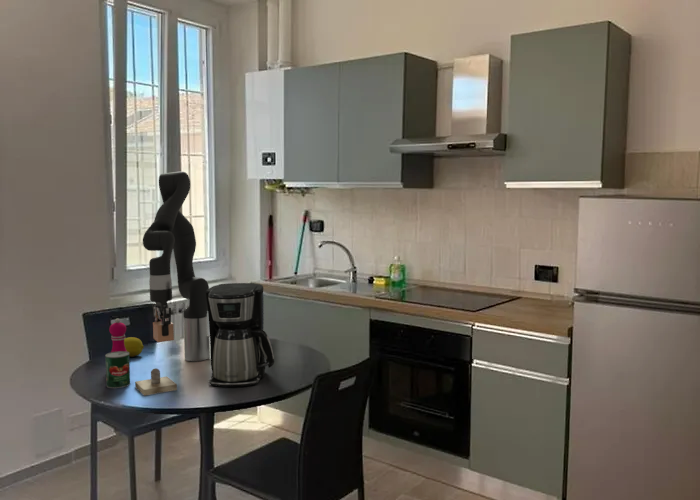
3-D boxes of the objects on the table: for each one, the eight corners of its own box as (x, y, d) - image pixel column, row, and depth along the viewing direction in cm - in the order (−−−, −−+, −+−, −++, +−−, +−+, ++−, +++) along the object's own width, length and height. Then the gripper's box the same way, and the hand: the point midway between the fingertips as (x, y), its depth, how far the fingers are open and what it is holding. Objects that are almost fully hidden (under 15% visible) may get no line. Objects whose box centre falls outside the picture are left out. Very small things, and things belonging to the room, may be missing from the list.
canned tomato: (116, 389, 214) (115, 358, 213) (101, 386, 218) (100, 355, 217) (135, 383, 221) (134, 353, 220) (120, 380, 225) (119, 350, 224)
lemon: (147, 354, 261) (147, 335, 260) (139, 359, 253) (138, 339, 253) (123, 353, 262) (122, 334, 262) (113, 358, 255) (112, 339, 254)
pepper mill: (122, 373, 233) (120, 320, 231) (105, 372, 234) (103, 320, 232) (133, 368, 240) (131, 316, 238) (116, 367, 241) (114, 316, 240)
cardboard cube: (169, 336, 227) (168, 320, 226) (173, 340, 222) (173, 323, 222) (153, 338, 224) (152, 322, 223) (157, 342, 219) (157, 325, 219)
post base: (167, 381, 222) (166, 362, 222) (177, 389, 213) (176, 369, 213) (135, 387, 216) (134, 367, 216) (144, 395, 207) (143, 375, 207)
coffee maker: (212, 392, 211) (210, 292, 208) (196, 367, 240) (193, 280, 237) (277, 383, 220) (276, 288, 217) (254, 361, 249) (252, 277, 246)
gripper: (177, 288, 217) (179, 336, 219) (165, 283, 229) (166, 329, 231) (156, 290, 213) (158, 339, 215) (144, 285, 225) (146, 331, 227)
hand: (162, 333), depth 223 cm, fingers closed on cardboard cube, 5 cm apart
